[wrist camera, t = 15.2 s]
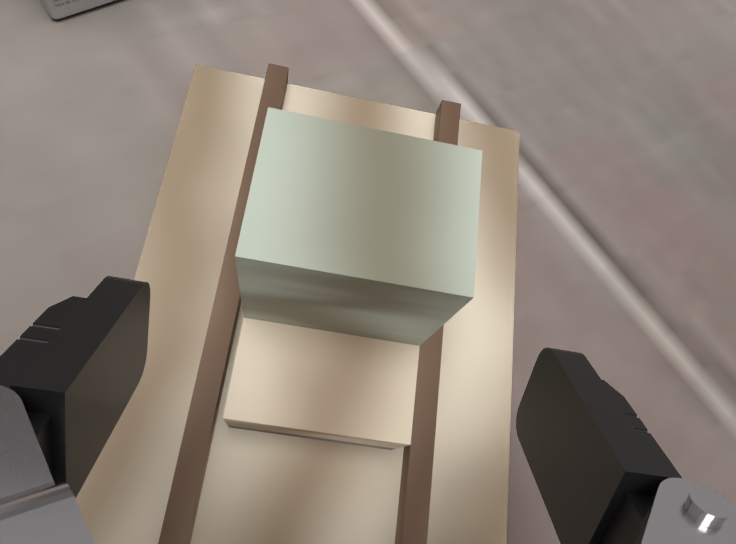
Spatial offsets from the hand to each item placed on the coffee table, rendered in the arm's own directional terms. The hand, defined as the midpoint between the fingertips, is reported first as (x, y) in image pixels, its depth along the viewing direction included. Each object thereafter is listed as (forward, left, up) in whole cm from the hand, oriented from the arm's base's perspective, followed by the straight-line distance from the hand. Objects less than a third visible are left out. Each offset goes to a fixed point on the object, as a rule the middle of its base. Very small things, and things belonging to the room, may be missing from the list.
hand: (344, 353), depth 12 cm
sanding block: (0, +4, -9) cm, 9 cm away
